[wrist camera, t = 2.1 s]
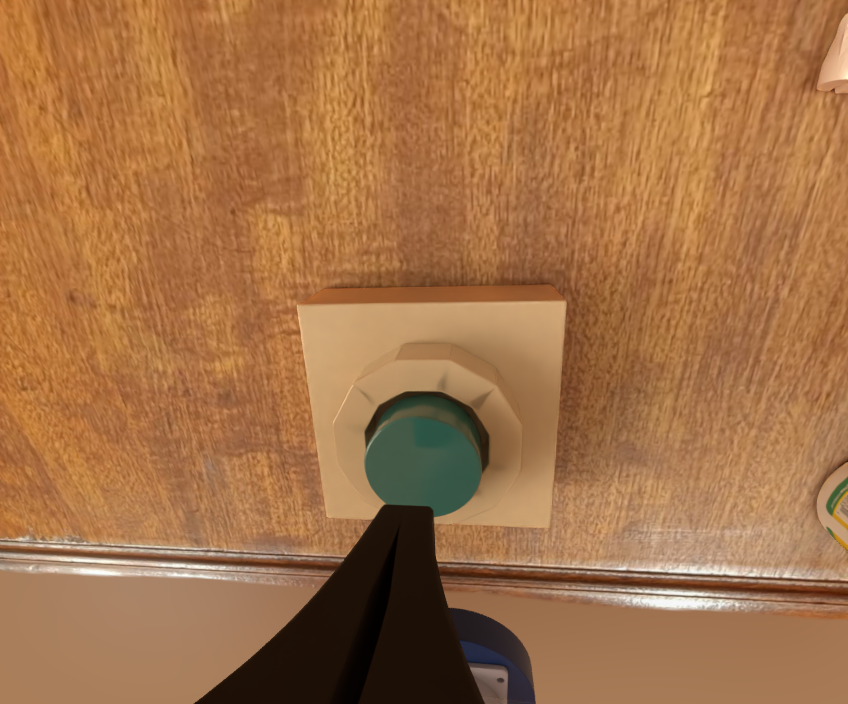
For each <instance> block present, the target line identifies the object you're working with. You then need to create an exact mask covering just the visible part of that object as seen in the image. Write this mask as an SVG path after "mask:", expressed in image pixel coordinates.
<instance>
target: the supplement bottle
mask: <svg viewBox="0 0 848 704" xmlns="http://www.w3.org/2000/svg"><path fill="white" fill-rule="evenodd" d="M817 513H818V517H819V519H820V522H821V524H822V526H823V527H824V528H825V530H826V531H827V532H828V533H829V534H830V535H831V536H832V537H833V538H834V539H835V540H836V541H837V542H838V543H839V544H840V545H841V546H842V547H843V548H845V549H846V550H847V551H848V462H846V463H845V464H843V465H842V466H841V467H839V468H838V469H837V470H835V471H834V472H833V473H832V474H831V475H830V476H829V477H828V478H827V480H826V481H825V483H824V484H823V486H822V488H821V490H820V492H819V495H818V499H817Z"/></svg>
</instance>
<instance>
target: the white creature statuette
mask: <svg viewBox="0 0 848 704" xmlns="http://www.w3.org/2000/svg"><path fill="white" fill-rule="evenodd" d="M816 88H817V90H819V91H826V92H828V91H830V90H832V89H833V88H834V89H835V94H843V93H848V12H847V14H846V15H845V16H844V17H843V18H842V19H841V22H840V24H839V27H838V31H837V34H836V36H835V39H834V41H833V43H832V45H831V46H830V48H829V50H828V54H827V56H826V58H825V60H824V62H823V64H822V67H821V71H820V75H819V79H818V83H817V87H816Z"/></svg>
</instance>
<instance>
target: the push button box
mask: <svg viewBox="0 0 848 704" xmlns="http://www.w3.org/2000/svg"><path fill="white" fill-rule="evenodd" d="M566 309H567V302H566V300H565V299H564V298H563V297H562V296H561V295H560V293H559V292H558V291H557V290H556V289H555V288H554V287H553V286H552V285H551V284H545V285H491V286H436V287H382V288H328V289H323V290H321V291H320V292H318V293H316V294H315V295H313V296H311V297H309V298H308V299H306V300H304V301H303V302H301V303H299V304H298V305H297V311H298V318H299V325H300V332H301V339H302V347H303V354H304V361H305V368H306V375H307V382H308V389H309V396H310V403H311V410H312V417H313V424H314V431H315V438H316V445H317V452H318V460H319V467H320V474H321V481H322V488H323V495H324V502H325V509H326V516H327V518H339V519H360V520H373V519H374V518H375V516H376V515H377V513H378V511H379V510H380V508H381V507H382V506H383V505H384V504H386V503H384V502H383V501H382V500H381V499H380V498H379V497H378V496H377V495H376V493H375V492H374V491H373V489H372V488H371V486H370V484H369V482H368V480H367V477H366V473H365V468H364V457H365V452H366V448H367V446H368V443H369V441H370V439H371V437H372V434H373V432H374V430H375V428H376V425H377V423H378V421H379V419H380V417H381V416H382V414H383V413H384V412H385V411H386V410H387V409H388V408H389V407H390V406H391V405H393V404H394V403H396V402H397V401H399V400H402V399H404V398H407V397H410V396H416V395H434V396H439V397H442V398H445V399H448V400H450V401H452V402H454V403H456V404H457V405H459V406H460V407H462V408H463V409H464V410H465V411H466V412H467V413H468V414H469V415H470V416H471V417H472V419H473V420H474V422H475V423H476V425H477V427H478V430H479V432H480V437H481V447H482V477H481V481H480V485H479V487H478V489H477V491H476V493H475V494H474V496H473V497H472V498H471V500H470V501H469V502H468V503H467V504H465V505H464V506H463V507H462V508H460V509H459V510H457V511H455V512H453V513H450V514H447V515H444V516H440V517H434V524H445V525H452V524H463V525H484V526H505V527H525V528H546V529H549V528H550V527H551V517H552V503H553V489H554V475H555V461H556V447H557V433H558V420H559V406H560V392H561V378H562V364H563V350H564V336H565V322H566Z"/></svg>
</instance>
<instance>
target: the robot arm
mask: <svg viewBox="0 0 848 704" xmlns="http://www.w3.org/2000/svg"><path fill="white" fill-rule="evenodd" d="M507 689H508V670H507V668H506V667H505V666H502V665H494V664H483V663H471V662H467V660H466V657H465V655H464V652H463V649H462V647H461V644H460V641H459V639H458V636H457V633H456V630H455V627H454V624H453V621H452V618H451V615H450V612H449V608H448V605H447V601H446V598H445V594H444V591H443V587H442V583H441V579H440V575H439V570H438V565H437V560H436V555H435V532H434V510H433V509H432V508H431V507H430V506H412V505H389V504H384V505H383V506H382V507H381V508H380V510H379V511H378V513H377V515H376V516H375V518H374V519H373V521H372V522H371V524H370V525H369V527H368V528H367V530H366V531H365V532H364V534H363V535H362V537H361V538H360V539H359V541H358V542H357V544H356V545H355V546H354V548H353V549H352V550H351V551H350V553H349V554H348V555H347V557H346V558H345V559H344V561H343V562H342V563H341V565H340V566H339V567H338V568H337V570H336V571H335V572H334V573H333V574H332V575H331V577H330V578H329V579H328V580H327V581H326V583H325V584H324V585H323V586H322V587H321V588H320V590H319V591H318V592H317V593H316V594H315V595H314V596H313V598H312V599H311V600H310V601H309V602H308V603H307V604H306V605H305V606H304V607H303V608H302V609H301V610H300V611H299V613H298V614H297V615H296V616H295V617H294V618H293V619H292V620H291V621H290V622H289V623H288V624H287V625H286V626H285V627H284V628H283V629H282V630H280V631H279V632H278V633H277V634H276V635H275V636H274V637H273V638H272V639H271V640H270V641H269V642H268V643H266V644H265V646H263V647H262V648H261V649H260V650H259V651H258V652H257V653H256V654H254V655H253V656H252V657H251V658H250V659H249V660H248V661H246V662H245V663H244V664H243V665H242V666H240V667H239V668H238V669H237V670H236V671H234V672H233V673H232V674H231V675H229V676H228V677H227V678H226V679H224V680H223V681H222V682H221V683H219V684H218V685H217V686H216V687H214V688H213V689H212V690H211V691H209V692H208V693H207V694H206V695H204V696H203V697H202V698H201V699H199V700H198V701H197V702H195V703H194V704H507Z"/></svg>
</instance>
